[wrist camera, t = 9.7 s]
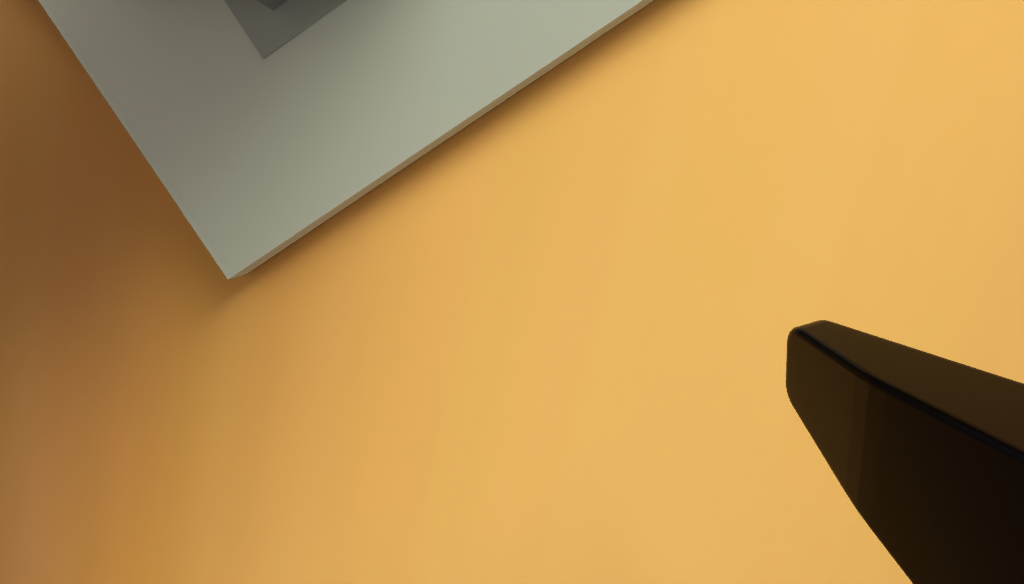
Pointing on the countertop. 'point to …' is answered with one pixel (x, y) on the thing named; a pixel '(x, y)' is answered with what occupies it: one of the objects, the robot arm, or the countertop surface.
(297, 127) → the board
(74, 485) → the countertop surface
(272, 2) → the plug block
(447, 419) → the countertop surface
